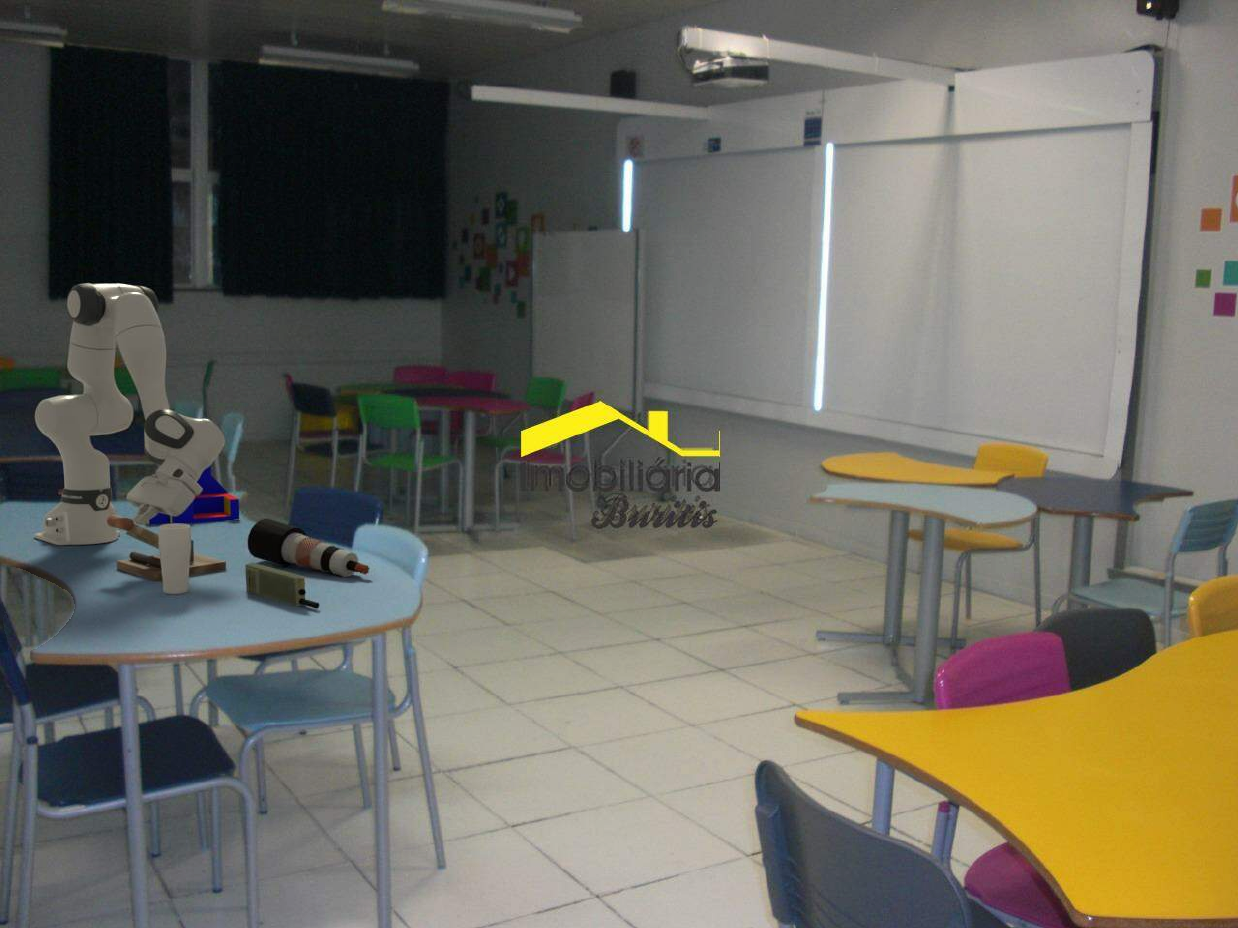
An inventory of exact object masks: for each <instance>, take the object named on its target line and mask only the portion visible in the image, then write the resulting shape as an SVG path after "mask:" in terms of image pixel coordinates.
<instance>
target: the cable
mask: <svg viewBox="0 0 1238 928" xmlns="http://www.w3.org/2000/svg"><path fill="white" fill-rule="evenodd" d="M247 549H248V551H249V553H250V556H253V557H254V558H257V559H259V560H263V561H265V562H269V563H273V564H276V565H279V566H282V567H285V568H289V567H293V566H292V565H294V566H297V565H298V566H300V567H306V568H309V569H311V570H315V571H321V572H324V573H331V574H334V575H337V576H339V577H343V578H347V577H351V576H352V575H354V574H355V573H359V574H363V575H365V576H366V575H367V574H369V572H370V567H369V565H366V564H363V563H360V562H359V558H358V556H357V554H356V553H355V552H351V551H348V550H345V549H343V548H340V547H337V546H335V545H333V544H329V543H326V542H325V541H322V540H319V539H316V538H312V537H309V536H308V535H307V534H306V532H305V531H304V530H303V529H302V528H300V527H298V526H295V525H292V524H288V523H285V522H281V521H277V520H274V519H271V518H262V519H260V520H258V521H257V522H256V523H254V525H253V526H252V528H251V529H250V531H249V534H248V536H247ZM288 566H289V567H288Z"/></svg>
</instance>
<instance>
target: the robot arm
mask: <svg viewBox="0 0 1238 928" xmlns="http://www.w3.org/2000/svg"><path fill="white" fill-rule="evenodd" d="M66 309H67V314H68V316H69V318H70V319H71V320H72V321H73V322H72V326H71V331H70V339H69V346H68V355H67V356H68V357H67V365H66V366H67V367H66V368H67V370H68V372H69V374H70V376H72V377H73V378H74V379H76V381H79V382H81V383H82V384H83V393H82V394H67V395H66V394H63V395H56V396H52V397H49V398H45V399H43V400H41V401H40V402H39V403H38V405H37V407H36V409H35V413H34V421H35V424H36V427H37V429H38V430H39V431H40V433H42V435H44V436H46V437H47V438H48V439H50V440H51V441H52V443H54V445H55V446H56V448H57V450H58V452H59V454H60V456H61V462H62V467H63V475H64V476H63V479H64V487H63V488H62V489H59V490H57V491H58V495H61V496H60V499H59V501H60V502H59V503H58V504H57V505H55V506H54V508H52V509H51V510H50V511H48V512H47V513H46V514H45V516H44V520H43V531H42V530H41V531H39V532H36V533H34V535H33V538H35V539H37V540H41V541H42V542H43V541H44V542H47V543H50V544H52V545H56V546H67V545H68V546H70V545H79V546H80V545H95V544H97V545H98V544H104V543H111V542H114V541H116V540H118V539H119V536H121V530H118V528H115V527H111V526H109V525H108V523H107V519H108V517H109V516H111V515H116V511H115V510H116V509H115V507H114V505H113V504H112V502H111V501H112V500H113V488H112V487H111V483H110V482H111V479H110V477H111V474H110V460H109V458H108V457H107V455H106V454H105V453H103V452H102V451H100V450H97V449H96V448H94V446H93V445H92V443H91V436H101V435H111V434H115V433H119V432H121V431H124V430H127V429H128V428H129V427H130V426H131V424H132V422H133V419H134V409H133V408H134V407H133V406H132V404H131V402H130V400H129V399H128V398H127V397H126V396H124V395H123V393H121V391H120V390H119V388H118V385H117V383H116V379H115V378H116V377H115V360H116V358H115V357H116V351H117V350H116V348H117V347H118V350H119V353H120V355H121V358H122V360H123V363H124V364H125V366H126V369H127V371H128V372H129V375H130V376H131V379H132V381H133V383H134V385H135V388H136V390H137V392H138V396H139V397H138V398H139V401H140V405H141V408H142V411H143V412H142V413H143V416H144V420H145V422H144V424H143V425H144V428H143V429H144V430H143V432H144V433H143V434H144V444H143V445H144V446H143V447H144V448H143V449H144V454H145V455H146V457H147V459H149V461H151V462H152V463H154V464H155V465H159V467H158V468H157V469H156V471H155V473H153V474H151V475H148V476H145V477H143V478H142V479H141V480H140V481H138V483H136V485H134V486H133V487H132V489H131V490H130V491H128V493H127V495H126V498H125V499H126V500H127V501H128V503H130V504H131V505H132V506H133V507H136V508H137V512H136V514H135V516H134V517H133V518H132V520H133V522H134V524H136V525H139V526H140V525H141V526H145V525H146V524H147V523H146V522H147V521H148V520H150V519H151V518H153V517H155V516H156V515H157V514H158V512H159V513H163V514H167V515H171V516H178V515H180V514H182V513H183V512H184V511H185V510H186V508H187V507H188V506H189V505H190V504H191V503H192V501H193V500H194V498H195V495H199V494H200V493H201V492H202V490H203V488H202V487H201V486H200V485H199V484H198V483H197V481H198V480H199V478H200V476H201V474H202V472H203V471H204V470H205V469H206V468H208V467H209V466H210V465H211V466H212V464H213V463H214V461H215V460H216V459H217V457H218V456H219V454H220V453H221V451H222V450H223V448H224V446H225V443H226V438H225V434H224V432H223V431H222V430H221V428H220V427H219V426H218V425H217V424H216V423H215V422H214V421H212V420H210V419H208V418H194V417H189V416H186V415H183V414H181V413H177V412H176V411H174V410H172V409H171V408H170V403H169V400H168V396H167V391H166V367H167V366H166V365H167V346H166V345H167V344H166V338H165V333H164V330H163V328H162V323H161V321H160V318H159V315H158V314H159V309H160V308H159V301H158V298H157V296H156V293H155V292H154V291H153V290H152V289H151V288H148V287H146V286H142V285H132V284H125V283H114V282H113V283H90V282H87V283H78V284H75V285H74V286H72V287H71V289H70V290H69V292H68V294H67V299H66Z"/></svg>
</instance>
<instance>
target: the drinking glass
mask: <svg viewBox="0 0 1238 928" xmlns="http://www.w3.org/2000/svg"><path fill="white" fill-rule="evenodd" d="M191 529H192V528H191V524H180V523H175V524H171V523H168V524H160V525H159V526H158V533H157V534H158V540H159V549H158V551H159V554H160V561H161V570H162V579H163V580H162V591H163V593H164V594H166V595H182V594H185V593H187V592H188V591H189V588H190V587H189V585H190V584H189V581H190V580H189V579H190V576H189V566H190V553H191V540H192V532H191V531H192V530H191Z"/></svg>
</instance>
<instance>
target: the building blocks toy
mask: <svg viewBox="0 0 1238 928" xmlns="http://www.w3.org/2000/svg"><path fill="white" fill-rule="evenodd" d="M211 467H212V464H211V465H210V466H209V467H208V468H206V469H205V470H204V471H203V472H202V474H201V476H200V478H199V480H198V481H197V483H198V484H199V485H200V486H201V487H202V488H203V490H202V492H201V493H200V494H199V495H195V498H194V500H193V501H192V503H191V504H190V505H189V506H188V507H187V508H186V510H185V511H184V512H183V513H182V514H180V515H178V516H171V515H167V514H163V513H159V512H158V514H157V515H156V516H155V517H153V518H151V519H150V520H148V521H147V522H146V524H147V525H149V526H151V525H153V526H154V525H164V524H175V523H180V524H188V525H190V524H200V523H202V524H203V523H214V522H216V521H218V522H226V521H225V520H233V521H235V520H234V519H239V520H240V499H239V498H238V497H236V496H235V495H233V494H231V493H229V492H228V491H227V490H226V489H225V488H224V486H222V485H221V483H220V482H219V481H217V479H216V478H215V477H214V476H212V473H211V472H212V471H211V469H212V468H211Z"/></svg>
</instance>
